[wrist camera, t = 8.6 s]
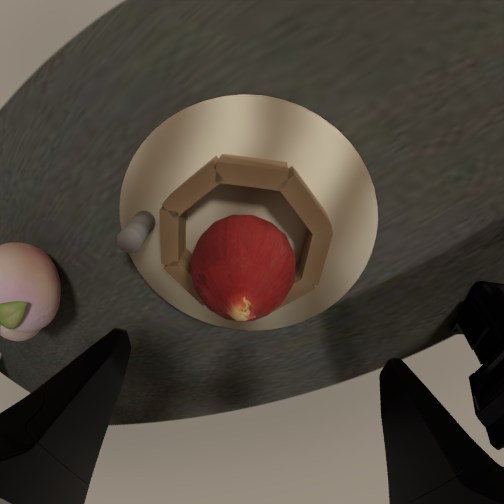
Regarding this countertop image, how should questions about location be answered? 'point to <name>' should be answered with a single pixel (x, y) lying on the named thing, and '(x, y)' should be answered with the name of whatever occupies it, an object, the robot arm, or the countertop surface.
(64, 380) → the robot arm
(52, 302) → the decorative fruit
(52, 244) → the countertop surface
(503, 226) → the countertop surface
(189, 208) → the flange plate
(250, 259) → the onion
